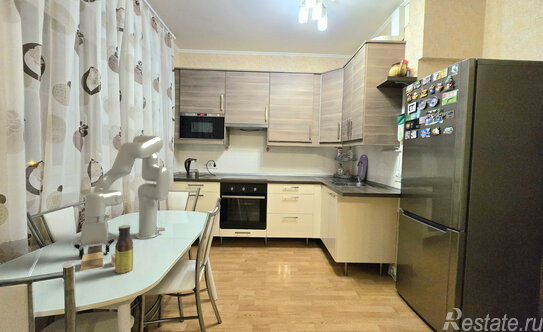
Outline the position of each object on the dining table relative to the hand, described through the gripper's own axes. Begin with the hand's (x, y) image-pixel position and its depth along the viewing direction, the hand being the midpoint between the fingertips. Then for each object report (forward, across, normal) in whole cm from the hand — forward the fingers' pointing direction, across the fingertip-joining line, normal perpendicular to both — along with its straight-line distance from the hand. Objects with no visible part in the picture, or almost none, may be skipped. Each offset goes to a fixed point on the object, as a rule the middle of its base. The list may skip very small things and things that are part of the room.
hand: (94, 255), depth 107 cm
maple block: (0, -9, +14) cm, 17 cm away
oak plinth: (0, 0, +11) cm, 11 cm away
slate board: (+1, -2, +11) cm, 11 cm away
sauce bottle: (+1, -11, +22) cm, 25 cm away
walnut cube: (+1, 0, 0) cm, 1 cm away
